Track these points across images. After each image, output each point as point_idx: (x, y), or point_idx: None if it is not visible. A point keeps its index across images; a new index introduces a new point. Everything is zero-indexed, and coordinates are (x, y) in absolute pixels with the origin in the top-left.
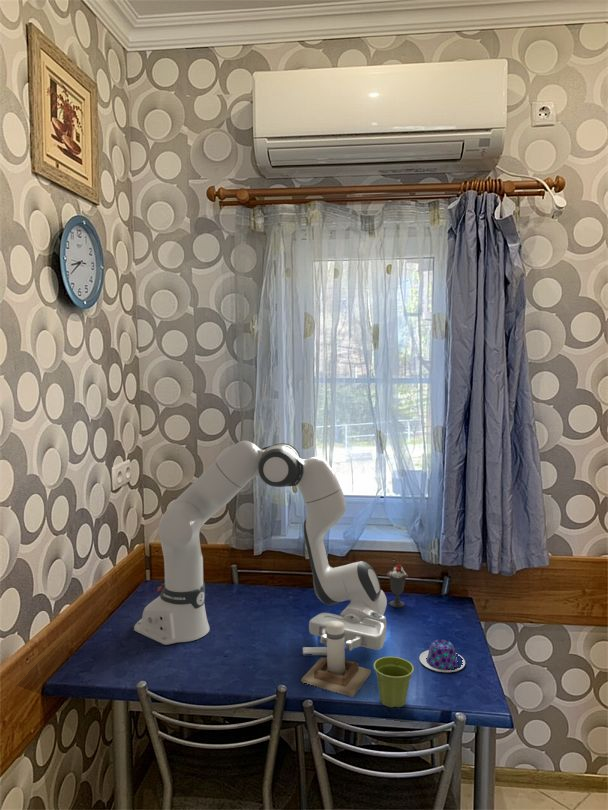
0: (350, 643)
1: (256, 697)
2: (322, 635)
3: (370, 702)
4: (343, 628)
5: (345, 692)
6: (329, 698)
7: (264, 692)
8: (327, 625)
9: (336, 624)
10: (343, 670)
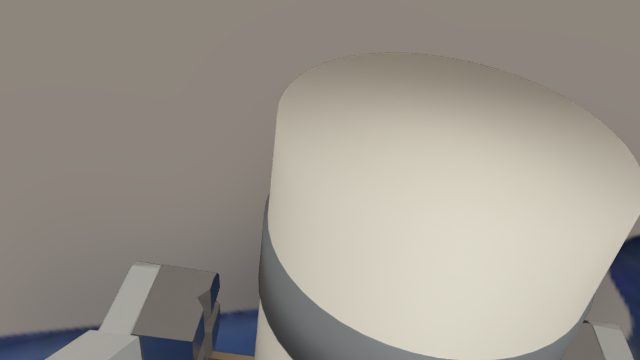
0: (145, 269)
1: (630, 237)
2: (624, 354)
3: (12, 341)
4: (274, 144)
5: None
6: None
7: (635, 275)
8: (560, 105)
9: (436, 136)
10: None
